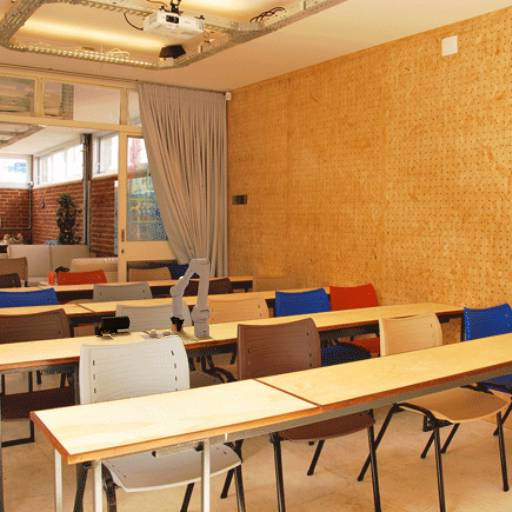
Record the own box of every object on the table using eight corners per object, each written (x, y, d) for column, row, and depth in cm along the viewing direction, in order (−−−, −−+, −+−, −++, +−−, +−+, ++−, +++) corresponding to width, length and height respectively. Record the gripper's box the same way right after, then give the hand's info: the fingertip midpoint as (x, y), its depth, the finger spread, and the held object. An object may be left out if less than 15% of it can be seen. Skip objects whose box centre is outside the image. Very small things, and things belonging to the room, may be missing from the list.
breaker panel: (180, 338, 354) (180, 333, 354) (146, 341, 345) (146, 336, 345) (173, 334, 365) (173, 329, 364) (139, 337, 355) (139, 332, 355)
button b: (156, 333, 352) (156, 330, 352) (151, 334, 351) (151, 330, 351) (154, 333, 354) (154, 329, 354) (150, 333, 353) (150, 329, 353)
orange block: (183, 332, 369) (183, 325, 369) (174, 333, 366) (174, 325, 366) (179, 331, 374) (179, 323, 373) (171, 332, 371) (171, 324, 371)
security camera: (95, 334, 362) (95, 317, 361) (127, 332, 370) (127, 315, 369) (98, 337, 356) (97, 319, 355) (130, 334, 363) (130, 317, 363)
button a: (169, 334, 356) (169, 331, 356) (165, 334, 355) (165, 331, 355) (168, 333, 358) (168, 330, 358) (164, 334, 357) (164, 330, 357)
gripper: (166, 305, 373) (166, 328, 374) (175, 309, 361) (175, 332, 362) (177, 304, 377) (177, 327, 378) (186, 308, 364) (186, 331, 365)
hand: (177, 330), depth 370 cm, fingers closed on orange block, 5 cm apart
